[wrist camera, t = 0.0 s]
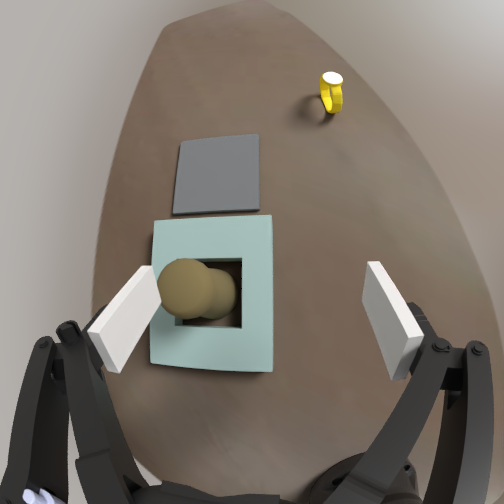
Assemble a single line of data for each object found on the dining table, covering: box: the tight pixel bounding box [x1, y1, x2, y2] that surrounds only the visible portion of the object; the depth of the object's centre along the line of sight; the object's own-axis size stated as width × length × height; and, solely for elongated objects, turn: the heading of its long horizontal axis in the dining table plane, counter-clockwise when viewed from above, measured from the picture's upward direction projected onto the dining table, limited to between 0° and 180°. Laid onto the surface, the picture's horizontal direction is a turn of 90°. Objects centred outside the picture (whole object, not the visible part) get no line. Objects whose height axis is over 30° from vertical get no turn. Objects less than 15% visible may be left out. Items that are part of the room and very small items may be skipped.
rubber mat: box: [173, 134, 260, 215], centre depth 34 cm, size 11×11×1 cm
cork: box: [157, 258, 239, 319], centre depth 26 cm, size 6×6×11 cm
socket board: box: [150, 215, 273, 372], centre depth 30 cm, size 17×14×2 cm
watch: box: [320, 72, 343, 113], centre depth 32 cm, size 6×3×6 cm, turn 9°
